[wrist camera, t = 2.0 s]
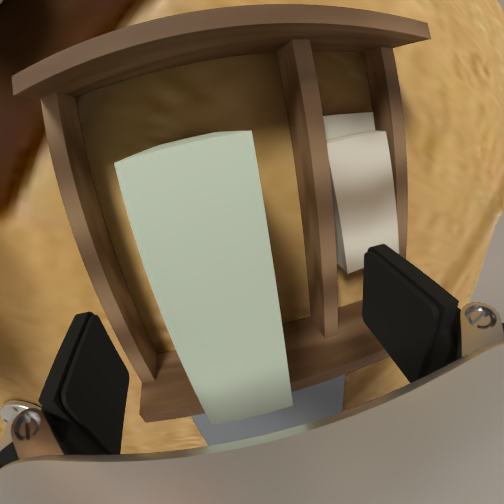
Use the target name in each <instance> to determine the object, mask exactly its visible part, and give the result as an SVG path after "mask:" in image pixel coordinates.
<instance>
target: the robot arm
mask: <svg viewBox="0 0 504 504" xmlns="http://www.w3.org/2000/svg"><path fill="white" fill-rule="evenodd" d="M458 302H459V301H458V300H457V299H456V298H454V297H453V296H452V295H451V294H450V293H448V292H447V291H446V290H445V289H443V288H442V287H441V286H440V285H438V284H437V283H436V282H435V281H433V280H432V279H431V278H430V277H428V276H427V275H426V274H424V273H423V272H422V271H421V270H419V269H418V268H417V267H415V266H414V265H413V264H411V263H410V262H409V261H407V260H406V259H405V258H403V257H402V256H401V255H399V254H398V253H397V252H395V251H394V250H392V249H391V248H390V247H388V246H387V245H385V244H380V245H376V246H372V247H369V248H368V251H367V252H366V253H365V254H364V278H363V304H362V318H363V321H364V323H365V324H366V326H367V327H368V328H369V329H370V331H371V332H372V333H373V335H374V336H375V337H376V338H377V340H378V341H379V342H380V344H381V345H382V346H383V347H384V349H385V350H386V351H387V353H388V354H389V355H390V357H391V358H392V359H393V361H394V362H395V363H396V364H397V366H398V367H399V368H400V370H401V371H402V372H403V374H404V375H405V376H406V378H407V379H408V380H409V382H410V384H408V385H406V386H404V387H402V388H399V389H397V390H395V391H393V392H390V393H388V394H386V395H384V396H381V397H379V398H376V399H374V400H372V401H369V402H367V403H364V404H362V405H359V406H356V407H354V408H351V409H348V410H346V411H343V412H340V413H337V414H334V415H331V416H328V417H325V418H322V419H319V420H316V421H313V422H310V423H307V424H303V425H300V426H296V427H293V428H289V429H286V430H282V431H278V432H274V433H270V434H266V435H262V436H258V437H253V438H249V439H244V440H239V441H234V442H229V443H224V444H218V445H212V446H206V447H199V448H192V449H184V450H176V451H166V452H155V453H141V454H120V451H121V440H122V431H123V422H124V414H125V406H126V399H127V392H128V385H129V373H128V370H127V368H126V366H125V365H124V363H123V361H122V359H121V358H120V356H119V354H118V352H117V351H116V349H115V347H114V345H113V343H112V341H111V340H110V338H109V336H108V334H107V332H106V330H105V328H104V326H103V324H102V322H101V320H100V318H99V317H98V316H97V315H94V314H93V313H92V312H86V313H81V314H77V315H75V317H74V319H73V321H72V323H71V325H70V327H69V329H68V332H67V334H66V336H65V338H64V340H63V342H62V345H61V347H60V349H59V351H58V354H57V356H56V358H55V360H54V363H53V365H52V368H51V370H50V372H49V375H48V377H47V380H46V382H45V385H44V388H43V390H42V393H41V395H40V398H39V402H40V404H41V405H42V408H41V407H38V406H36V405H34V404H31V403H28V402H24V401H18V400H11V401H7V402H5V403H4V405H3V406H2V409H1V417H2V420H3V422H4V424H5V425H6V429H5V432H4V435H3V438H2V441H1V444H0V504H504V323H502V322H501V318H500V315H499V313H498V312H497V311H496V310H495V309H494V308H493V307H491V306H490V305H487V304H485V303H480V302H472V303H468V304H466V305H465V306H463V308H462V309H461V310H460V309H459V308H458V307H457V306H458Z"/></svg>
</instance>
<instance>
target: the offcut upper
mask: <svg viewBox="0 0 504 504" xmlns="http://www.w3.org/2000/svg"><path fill="white" fill-rule="evenodd" d="M326 141H327V149H328V158H329V167H330V176H331V187H332V198H333V210H334V224H335V240H336V259H337V264H338V265H339V266H340V267H341V268H342V269H343V270H344V271H345V272H346V273H347V274H349V273H352V272H354V271H357V270H359V269H362V268H364V254H365V253H366V252H367V251H368V248H369V247H372V246H376V245H380V244H385V245H387V246H388V247H390V248H391V249H392V250H394V251H395V252H397V253H398V254H399V240H398V224H397V211H396V200H395V190H394V182H393V174H392V166H391V159H390V153H389V147H388V141H387V135H386V131H376V130H370V131H364V132H359V133H354V134H350V135H345V136H340V137H336V138H331V139H327V140H326Z"/></svg>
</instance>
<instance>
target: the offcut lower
mask: <svg viewBox="0 0 504 504" xmlns="http://www.w3.org/2000/svg"><path fill="white" fill-rule="evenodd" d="M323 119H324V126H325V134H326V140H327V139H331V138H336V137H340V136H345V135H350V134H354V133H359V132H364V131H370V130H375V124H374V117H373V112H362V113H349V114H337V115H327V116H323ZM336 260H337V259H336ZM337 265H338V264H337Z"/></svg>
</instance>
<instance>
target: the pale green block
mask: <svg viewBox="0 0 504 504" xmlns="http://www.w3.org/2000/svg"><path fill="white" fill-rule="evenodd" d="M114 165H115V169H116V173H117V177H118V181H119V185H120V189H121V193H122V196H123V200H124V204H125V207H126V211H127V214H128V218H129V221H130V224H131V228H132V231H133V234H134V238H135V241H136V244H137V247H138V250H139V253H140V256H141V259H142V262H143V265H144V268H145V271H146V274H147V277H148V280H149V282H150V285H151V288H152V291H153V293H154V296H155V299H156V301H157V304H158V307H159V309H160V312H161V315H162V317H163V320H164V322H165V325H166V327H167V330H168V332H169V334H170V337H171V339H172V342H173V344H174V346H175V349H176V351H177V353H178V356H179V358H180V360H181V363H182V365H183V367H184V369H185V371H186V374H187V376H188V378H189V380H190V382H191V385H192V387H193V389H194V391H195V393H196V395H197V397H198V399H199V401H200V403H201V405H202V407H203V409H204V411H205V413H206V415H207V417H208V419H209V421H210V423H211V425H212V426H213V425H218V424H223V423H227V422H232V421H237V420H241V419H245V418H249V417H253V416H257V415H261V414H265V413H269V412H273V411H276V410H280V409H283V408H287V407H290V406H293V402H292V394H291V386H290V379H289V371H288V364H287V356H286V349H285V342H284V335H283V327H282V320H281V313H280V306H279V299H278V293H277V286H276V279H275V272H274V266H273V259H272V253H271V246H270V240H269V233H268V227H267V220H266V214H265V208H264V202H263V195H262V189H261V183H260V177H259V171H258V165H257V159H256V153H255V147H254V142H253V136H252V131H226V132H213V133H208V134H203V135H198V136H194V137H189V138H185V139H181V140H177V141H172V142H168V143H164V144H161V145H157V146H155V147H152V148H149V149H147V150H144V151H142V152H139V153H137V154H134V155H132V156H129V157H127V158H125V159H122V160H120V161H118V162H115V163H114Z"/></svg>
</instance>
